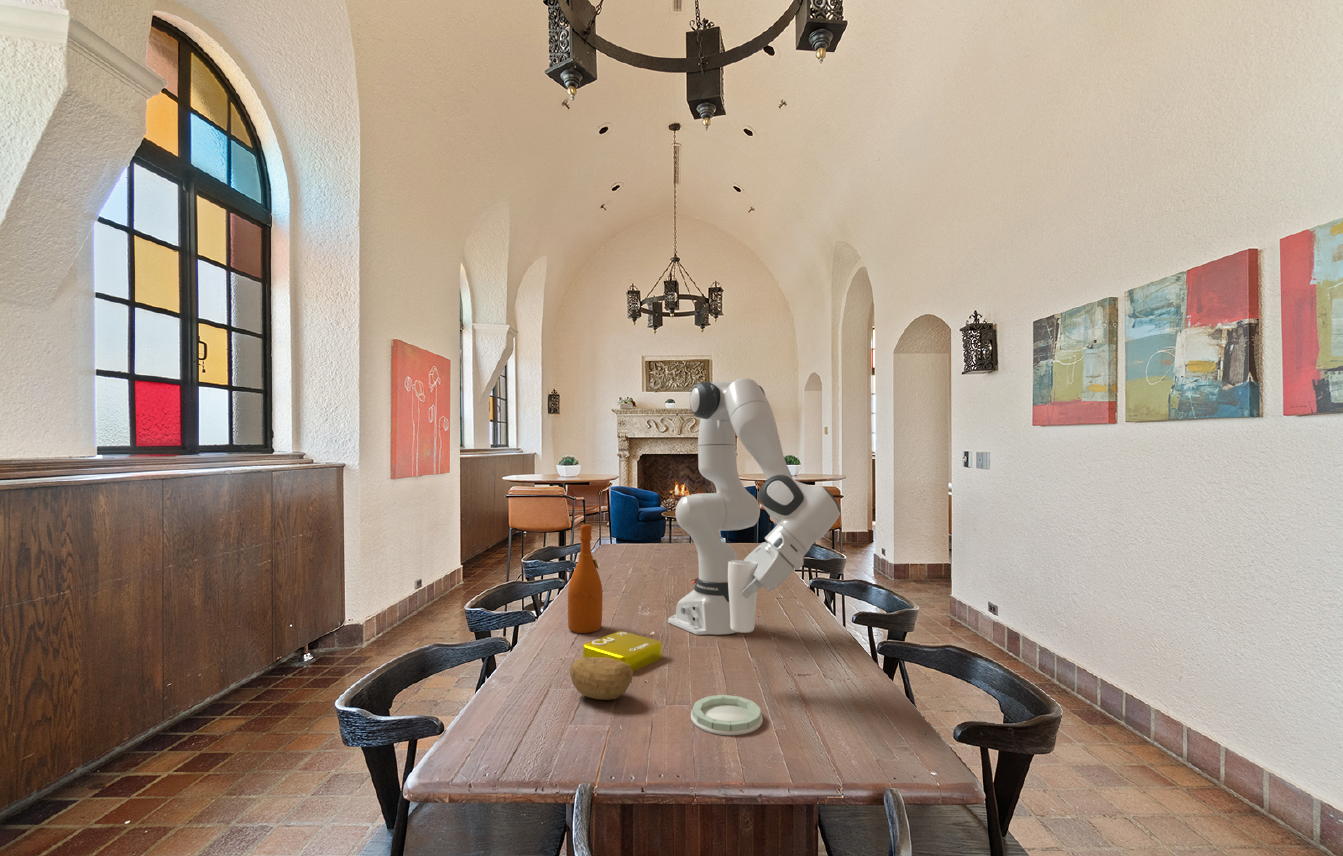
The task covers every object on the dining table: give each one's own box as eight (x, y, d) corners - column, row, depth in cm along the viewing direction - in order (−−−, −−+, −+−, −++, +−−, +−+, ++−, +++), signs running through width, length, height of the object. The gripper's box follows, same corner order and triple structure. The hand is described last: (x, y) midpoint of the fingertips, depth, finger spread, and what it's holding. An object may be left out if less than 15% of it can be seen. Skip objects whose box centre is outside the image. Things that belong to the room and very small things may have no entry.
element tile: (625, 676, 141) (625, 655, 141) (579, 662, 150) (579, 642, 150) (665, 658, 153) (665, 639, 153) (620, 646, 162) (620, 628, 162)
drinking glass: (756, 635, 132) (757, 564, 133) (725, 632, 133) (726, 563, 135) (758, 627, 139) (758, 560, 140) (728, 625, 140) (729, 559, 141)
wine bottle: (599, 634, 170) (600, 526, 170) (564, 634, 170) (565, 526, 171) (604, 624, 180) (605, 522, 180) (570, 623, 180) (572, 521, 180)
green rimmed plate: (675, 718, 119) (675, 709, 119) (720, 697, 129) (720, 688, 129) (733, 743, 109) (733, 733, 109) (776, 718, 119) (776, 708, 120)
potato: (584, 683, 136) (584, 647, 136) (640, 695, 130) (640, 657, 130) (558, 700, 127) (559, 661, 127) (617, 713, 121) (618, 672, 121)
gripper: (763, 530, 148) (723, 570, 147) (784, 545, 127) (738, 592, 127) (781, 548, 148) (741, 589, 147) (805, 566, 128) (759, 613, 127)
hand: (740, 590), depth 137 cm, fingers closed on drinking glass, 6 cm apart
